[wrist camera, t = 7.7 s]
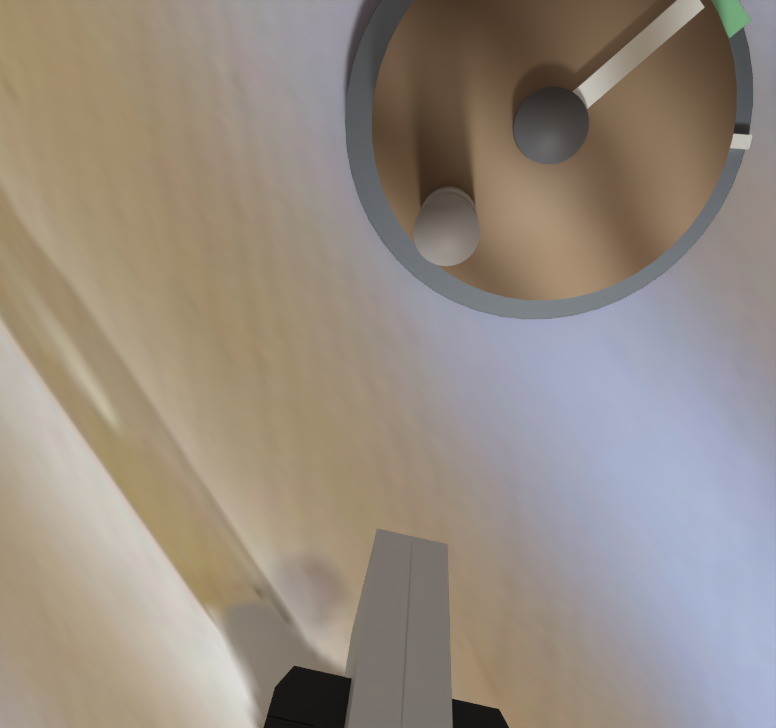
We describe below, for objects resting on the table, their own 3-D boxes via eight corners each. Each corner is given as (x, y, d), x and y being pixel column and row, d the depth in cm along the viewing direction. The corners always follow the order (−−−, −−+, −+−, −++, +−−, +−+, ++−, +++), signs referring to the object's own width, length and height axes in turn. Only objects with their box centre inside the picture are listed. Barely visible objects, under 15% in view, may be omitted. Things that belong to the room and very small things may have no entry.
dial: (515, 351, 34) (532, 414, 27) (309, 112, 31) (263, 107, 24) (788, 141, 30) (900, 144, 22) (578, -156, 27) (625, -267, 20)
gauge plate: (370, 325, 36) (366, 334, 34) (326, -65, 30) (319, -76, 29) (731, 299, 34) (744, 307, 32) (755, -128, 28) (773, -144, 26)
